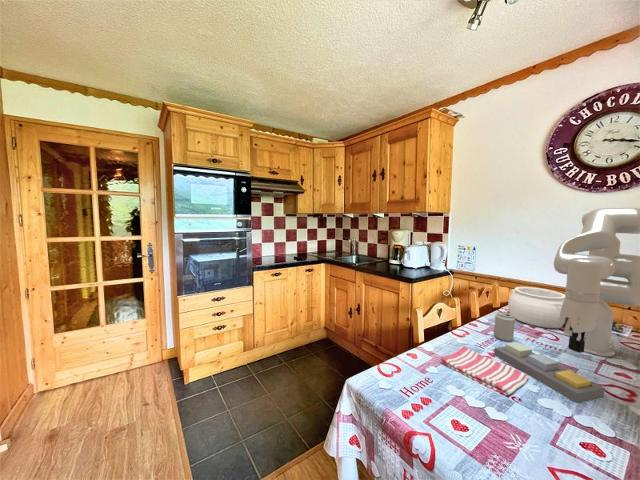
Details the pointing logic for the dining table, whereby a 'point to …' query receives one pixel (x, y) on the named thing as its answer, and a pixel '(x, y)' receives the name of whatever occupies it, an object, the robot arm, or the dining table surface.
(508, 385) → the dish towel
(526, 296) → the pot
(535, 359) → the blue button
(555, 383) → the button board
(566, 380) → the mustard button
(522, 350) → the sage button
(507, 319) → the can
